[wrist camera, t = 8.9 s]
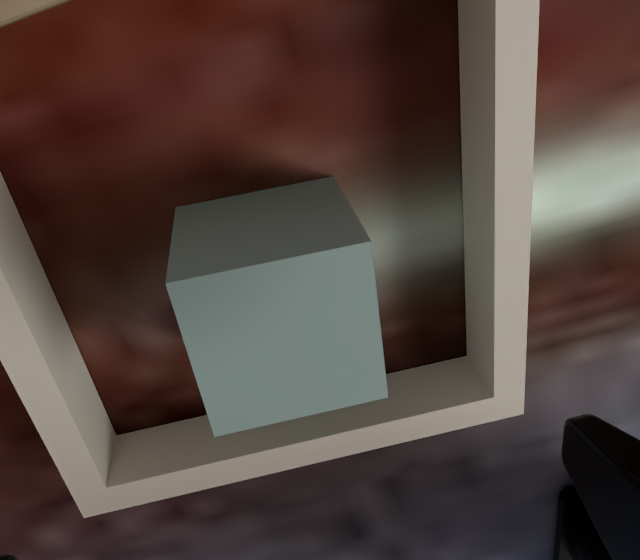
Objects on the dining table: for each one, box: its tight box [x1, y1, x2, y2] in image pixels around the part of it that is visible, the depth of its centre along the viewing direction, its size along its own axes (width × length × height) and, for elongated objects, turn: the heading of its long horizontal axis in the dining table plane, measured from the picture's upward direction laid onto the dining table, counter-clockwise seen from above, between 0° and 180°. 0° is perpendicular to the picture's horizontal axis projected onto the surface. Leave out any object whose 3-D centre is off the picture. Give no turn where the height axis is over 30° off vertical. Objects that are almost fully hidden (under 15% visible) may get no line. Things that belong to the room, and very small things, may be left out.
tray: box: [0, 0, 540, 518], centre depth 14 cm, size 20×14×2 cm
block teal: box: [165, 176, 388, 437], centre depth 15 cm, size 4×4×4 cm
